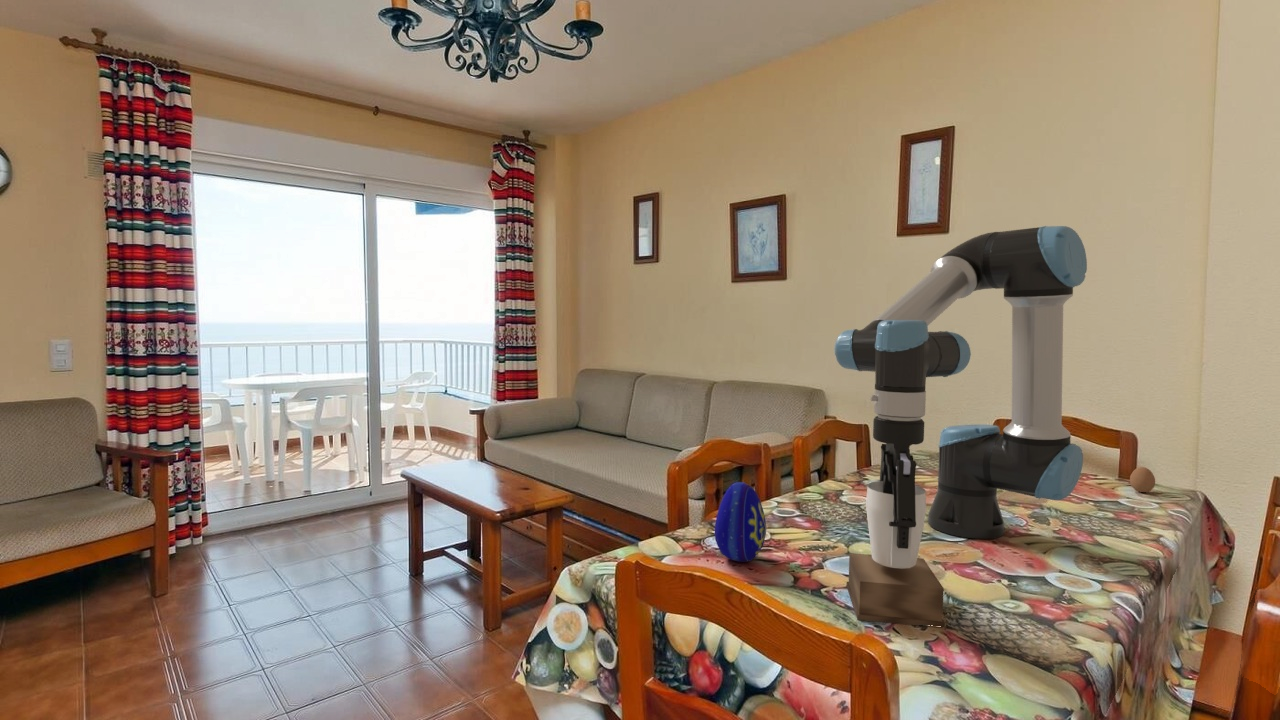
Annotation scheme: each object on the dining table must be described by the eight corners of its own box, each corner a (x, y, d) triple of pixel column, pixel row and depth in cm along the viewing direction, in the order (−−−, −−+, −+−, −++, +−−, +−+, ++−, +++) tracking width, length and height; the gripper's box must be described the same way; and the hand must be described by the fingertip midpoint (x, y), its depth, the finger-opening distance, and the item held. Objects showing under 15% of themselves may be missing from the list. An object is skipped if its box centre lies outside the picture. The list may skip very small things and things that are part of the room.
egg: (1159, 495, 169) (1161, 469, 168) (1139, 495, 169) (1140, 469, 168) (1144, 490, 174) (1145, 465, 174) (1124, 489, 174) (1125, 464, 174)
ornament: (750, 573, 115) (752, 492, 114) (705, 563, 119) (706, 485, 118) (772, 554, 124) (773, 479, 123) (729, 545, 129) (730, 473, 128)
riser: (923, 592, 107) (924, 558, 107) (944, 627, 95) (946, 589, 95) (846, 585, 110) (847, 552, 109) (857, 619, 97) (858, 581, 97)
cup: (930, 574, 97) (933, 497, 96) (868, 569, 98) (871, 493, 98) (917, 553, 105) (919, 482, 105) (860, 548, 107) (862, 479, 106)
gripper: (863, 406, 111) (859, 532, 113) (887, 427, 91) (882, 580, 92) (908, 408, 110) (903, 535, 112) (942, 429, 89) (936, 584, 91)
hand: (894, 555), depth 102 cm, fingers closed on cup, 8 cm apart
